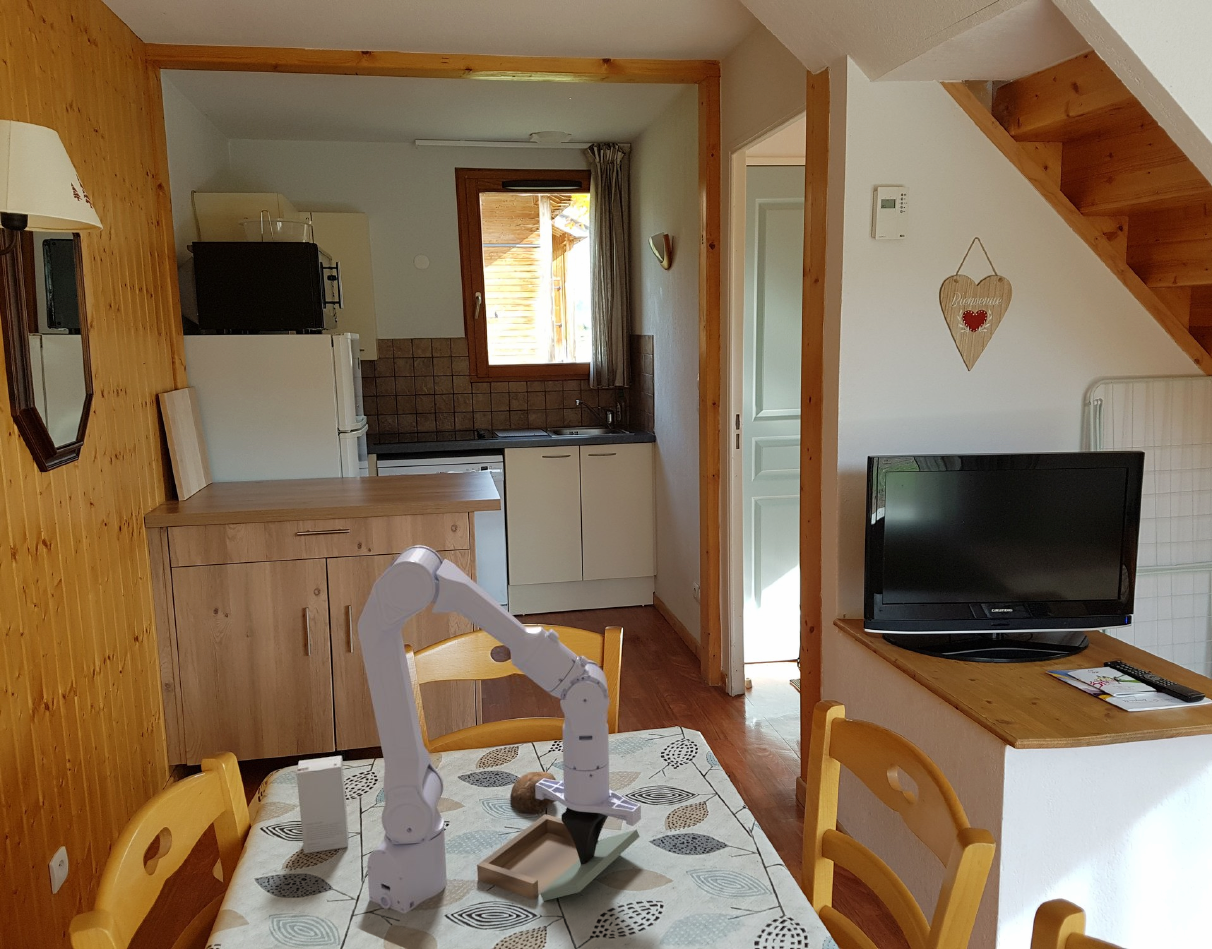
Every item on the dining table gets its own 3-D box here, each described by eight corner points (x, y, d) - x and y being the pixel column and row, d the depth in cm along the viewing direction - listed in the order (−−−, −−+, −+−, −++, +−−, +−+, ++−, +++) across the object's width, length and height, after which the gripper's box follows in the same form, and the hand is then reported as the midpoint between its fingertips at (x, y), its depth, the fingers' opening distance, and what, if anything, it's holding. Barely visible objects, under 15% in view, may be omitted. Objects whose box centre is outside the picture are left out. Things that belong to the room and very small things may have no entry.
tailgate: (539, 893, 115) (575, 883, 112) (602, 839, 127) (636, 829, 124) (543, 901, 115) (579, 892, 112) (605, 846, 127) (639, 836, 124)
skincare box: (349, 833, 135) (344, 753, 134) (348, 849, 131) (343, 766, 129) (304, 840, 134) (298, 758, 132) (301, 856, 129) (296, 772, 128)
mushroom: (572, 779, 144) (548, 753, 141) (566, 822, 137) (541, 795, 134) (530, 796, 146) (506, 771, 144) (522, 839, 139) (497, 814, 137)
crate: (478, 890, 120) (477, 865, 120) (545, 837, 133) (545, 814, 132) (534, 910, 116) (533, 883, 115) (598, 853, 128) (597, 829, 128)
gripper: (652, 761, 118) (653, 862, 120) (556, 737, 125) (558, 833, 127) (623, 784, 112) (625, 890, 114) (524, 758, 119) (527, 858, 121)
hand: (588, 862), depth 120 cm, fingers closed, pressing on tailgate
